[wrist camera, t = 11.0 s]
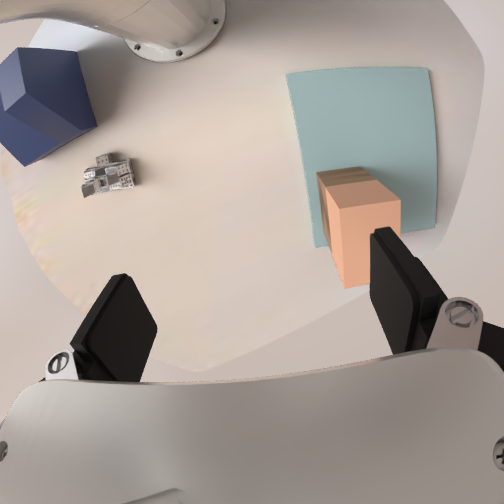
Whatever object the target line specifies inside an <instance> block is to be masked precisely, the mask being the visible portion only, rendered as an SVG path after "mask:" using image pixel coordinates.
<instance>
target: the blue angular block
mask: <svg viewBox="0 0 504 504" xmlns="http://www.w3.org/2000/svg"><path fill="white" fill-rule="evenodd" d="M95 127H97V123H96V120H95V117H94V114H93V111H92V107H91V104H90V101H89V97H88V94H87V90H86V87H85V83H84V79H83V76H82V72H81V68H80V64H79V60H78V56H77V52H74V51H65V50H55V49H42V48H16V49H15V50H14V51H13V52H12V53H11V54H10V55H9V56H8V57H7V58H6V59H5V60H4V61H3V62H2V63H1V64H0V143H1V144H2V145H3V146H4V147H5V148H6V149H7V150H8V151H9V152H10V153H11V154H12V155H13V156H14V157H15V158H16V159H17V160H18V161H19V162H20V163H21V164H22V165H23V166H24V167H25V166H27V165H29V164H32V163H34V162H36V161H39V160H41V159H42V158H44V157H45V156H47V155H49V154H50V153H52V152H53V151H55V150H57V149H58V148H60V147H62V146H63V145H65V144H67V143H68V142H70V141H72V140H73V139H75V138H77V137H79V136H81V135H82V134H84V133H86V132H88V131H90V130H92V129H94V128H95Z"/></svg>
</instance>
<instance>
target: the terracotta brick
mask: <svg viewBox="0 0 504 504" xmlns="http://www.w3.org/2000/svg"><path fill="white" fill-rule="evenodd" d="M325 190H326V198H327V207H328V216H329V225H330V236H331V247H332V257H333V259H334V262H335V265H336V267H337V270H338V273H339V276H340V278H341V281H342V284H343V287H344V289H345V288H351V287H356V286H362V285H367V284H370V234H371V233H374V230H375V229H377V228H383V227H388V226H390V227H391V228H392V230H393V231H394V232H395V233H396V234H397V236H398V237H399V238H400V224H401V200H400V199H399V198H398V197H397V196H396V195H394V194H393V193H392V192H391V191H390V190H388V189H387V188H386V187H385V186H384V185H382V184H381V183H380V182H379V181H378V180H371V181H363V182H356V183H349V184H341V185H335V186H328V187H325Z"/></svg>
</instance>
